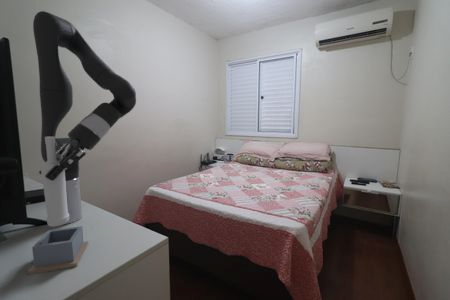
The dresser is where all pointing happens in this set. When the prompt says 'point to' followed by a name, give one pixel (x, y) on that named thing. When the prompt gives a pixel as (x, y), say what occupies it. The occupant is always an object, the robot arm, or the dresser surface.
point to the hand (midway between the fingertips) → (45, 176)
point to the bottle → (54, 188)
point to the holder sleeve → (58, 250)
